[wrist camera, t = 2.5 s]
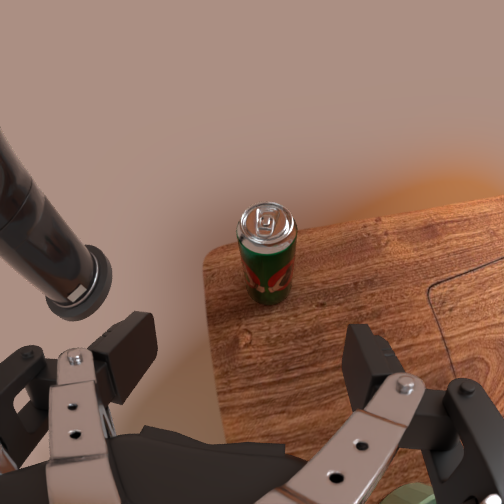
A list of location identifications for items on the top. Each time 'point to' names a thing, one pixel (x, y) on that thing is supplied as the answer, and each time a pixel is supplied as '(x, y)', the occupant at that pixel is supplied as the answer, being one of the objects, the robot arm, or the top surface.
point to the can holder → (411, 494)
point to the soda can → (267, 251)
